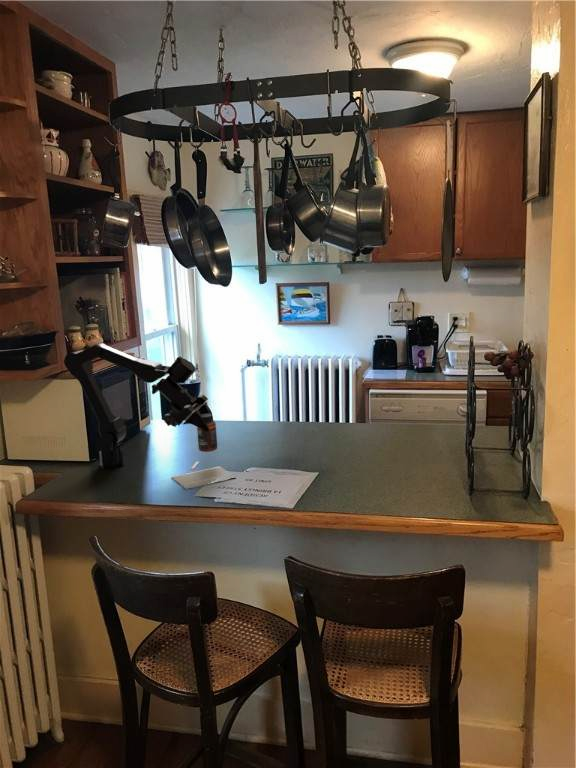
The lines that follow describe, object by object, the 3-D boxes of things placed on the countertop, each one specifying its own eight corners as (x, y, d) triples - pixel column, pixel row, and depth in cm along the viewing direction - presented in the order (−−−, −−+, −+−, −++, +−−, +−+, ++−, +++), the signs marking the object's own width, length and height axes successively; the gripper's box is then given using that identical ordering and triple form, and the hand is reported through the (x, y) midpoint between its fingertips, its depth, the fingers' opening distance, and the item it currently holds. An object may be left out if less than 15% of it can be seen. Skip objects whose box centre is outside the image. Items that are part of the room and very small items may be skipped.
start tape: (190, 468, 196) (190, 468, 196) (196, 461, 203) (196, 461, 203) (193, 468, 196) (193, 468, 196) (199, 461, 202) (199, 461, 202)
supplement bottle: (219, 446, 199) (217, 412, 196) (214, 452, 193) (212, 417, 190) (201, 446, 199) (199, 412, 197) (196, 452, 194) (193, 417, 191)
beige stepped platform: (185, 489, 178) (185, 488, 178) (171, 478, 188) (171, 476, 188) (236, 478, 186) (235, 476, 186) (219, 467, 196) (219, 466, 196)
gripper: (169, 404, 205) (203, 436, 205) (147, 418, 187) (185, 454, 187) (190, 380, 202) (224, 413, 203) (171, 393, 184) (208, 429, 185)
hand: (210, 427), depth 194 cm, fingers closed on supplement bottle, 6 cm apart
